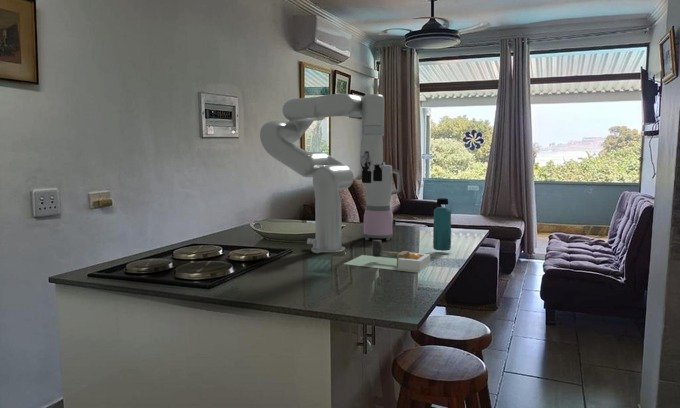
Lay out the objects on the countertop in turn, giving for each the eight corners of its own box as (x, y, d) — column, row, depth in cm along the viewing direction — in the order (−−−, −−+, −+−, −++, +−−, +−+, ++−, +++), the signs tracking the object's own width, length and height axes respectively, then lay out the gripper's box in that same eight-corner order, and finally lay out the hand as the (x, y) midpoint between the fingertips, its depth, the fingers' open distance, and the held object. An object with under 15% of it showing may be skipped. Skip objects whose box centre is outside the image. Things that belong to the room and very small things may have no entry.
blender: (363, 241, 205) (363, 162, 202) (362, 236, 217) (363, 161, 214) (402, 241, 205) (403, 162, 201) (399, 236, 217) (400, 161, 213)
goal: (397, 268, 155) (398, 259, 155) (409, 261, 165) (409, 252, 164) (419, 271, 152) (420, 261, 152) (430, 263, 162) (430, 254, 161)
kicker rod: (368, 262, 162) (369, 241, 161) (376, 258, 167) (376, 238, 166) (403, 266, 157) (403, 245, 156) (409, 262, 162) (409, 241, 161)
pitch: (343, 266, 161) (343, 263, 161) (362, 257, 174) (362, 255, 174) (418, 275, 150) (418, 272, 150) (432, 265, 163) (432, 262, 163)
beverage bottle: (451, 255, 179) (452, 199, 177) (432, 254, 180) (433, 198, 178) (450, 251, 185) (452, 197, 183) (432, 250, 187) (433, 197, 184)
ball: (417, 254, 155) (419, 267, 156) (421, 251, 159) (422, 264, 159) (405, 255, 157) (406, 267, 157) (409, 252, 161) (410, 264, 161)
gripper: (372, 132, 180) (371, 180, 182) (352, 131, 165) (351, 183, 167) (392, 132, 177) (391, 180, 179) (373, 130, 161) (372, 184, 163)
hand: (372, 182), depth 173 cm, fingers open, 9 cm apart
